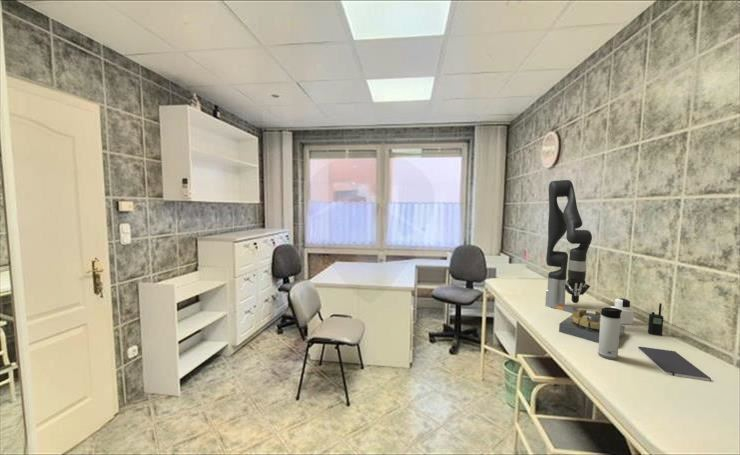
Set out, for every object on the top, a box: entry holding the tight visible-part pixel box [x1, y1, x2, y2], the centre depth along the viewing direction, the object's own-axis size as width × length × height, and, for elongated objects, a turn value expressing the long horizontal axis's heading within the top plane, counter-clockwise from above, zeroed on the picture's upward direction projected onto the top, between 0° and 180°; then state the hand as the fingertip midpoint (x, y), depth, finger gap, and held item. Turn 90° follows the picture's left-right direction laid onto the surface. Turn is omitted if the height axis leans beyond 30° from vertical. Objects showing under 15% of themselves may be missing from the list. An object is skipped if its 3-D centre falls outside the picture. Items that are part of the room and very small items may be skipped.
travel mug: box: [597, 306, 622, 361], centre depth 124 cm, size 6×7×20 cm
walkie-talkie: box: [647, 303, 664, 337], centre depth 146 cm, size 5×3×15 cm
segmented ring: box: [556, 304, 601, 329], centre depth 150 cm, size 16×24×4 cm
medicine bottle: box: [609, 297, 635, 325], centre depth 162 cm, size 7×7×12 cm
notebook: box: [637, 346, 712, 382], centre depth 120 cm, size 13×2×21 cm
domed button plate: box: [558, 312, 626, 344], centre depth 147 cm, size 21×21×8 cm
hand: (575, 302), depth 158 cm, fingers closed
